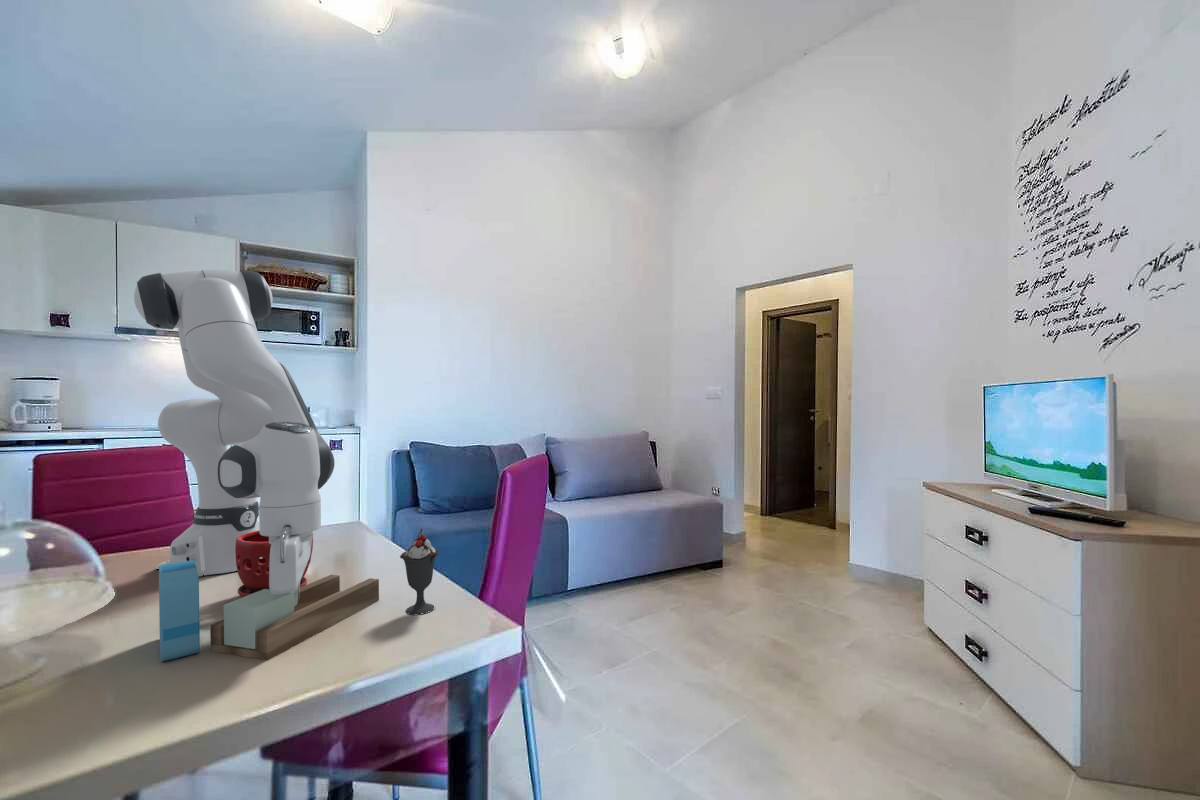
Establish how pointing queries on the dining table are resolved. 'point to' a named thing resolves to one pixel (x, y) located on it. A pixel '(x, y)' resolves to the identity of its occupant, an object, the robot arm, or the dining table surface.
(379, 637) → the dining table surface
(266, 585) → the plant pot
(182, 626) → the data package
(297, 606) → the chute
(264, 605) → the block
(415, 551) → the sundae
